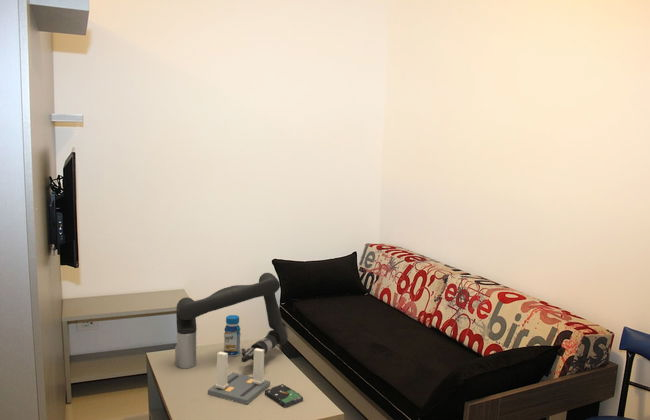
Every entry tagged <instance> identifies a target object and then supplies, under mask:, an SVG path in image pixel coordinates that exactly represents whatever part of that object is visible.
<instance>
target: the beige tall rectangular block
mask: <svg viewBox="0 0 650 420" xmlns="http://www.w3.org/2000/svg"><path fill="white" fill-rule="evenodd" d="M252 371H253V373H252V375H253V376H252V377H253V380H252V383H255V384H259V385H261V384H262V383H263V382H264V380H265V379H264V377H265V376H264V374H265V373H264V371H265V355H264V350H263V349H259V348H256V349H255V350H254V360H253V369H252Z"/></svg>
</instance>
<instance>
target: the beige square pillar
mask: <svg viewBox="0 0 650 420" xmlns="http://www.w3.org/2000/svg"><path fill="white" fill-rule="evenodd" d="M216 354H217V355H216V384H214V385H215V387H217V388H221V389H225V388H226V387H228V384H227V376H228V372H229V371H228V367H229V366H228V364H229V363H228V362H229V359H228V358H229V356H228V353H225V352H224V351H219V352H217V353H216Z"/></svg>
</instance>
